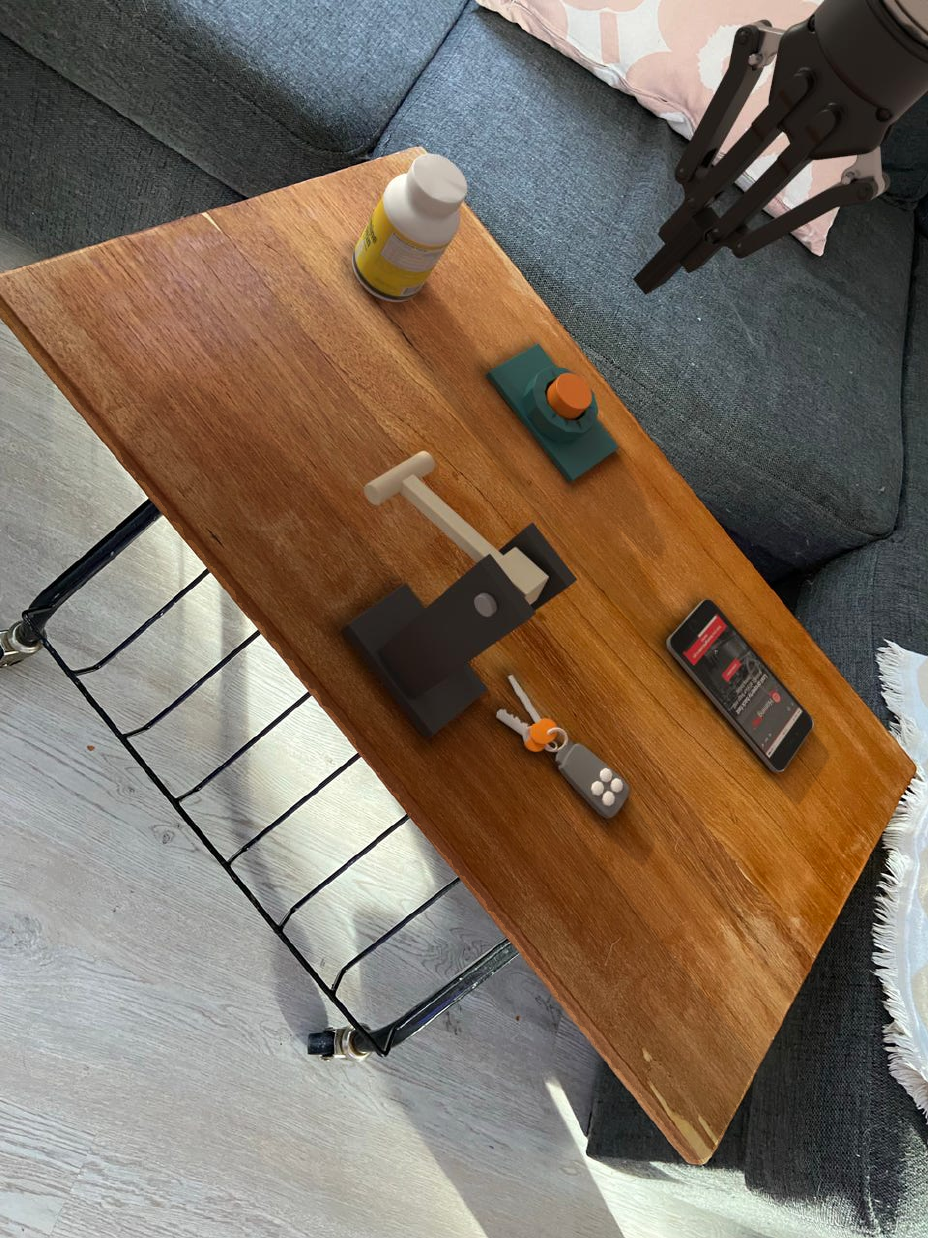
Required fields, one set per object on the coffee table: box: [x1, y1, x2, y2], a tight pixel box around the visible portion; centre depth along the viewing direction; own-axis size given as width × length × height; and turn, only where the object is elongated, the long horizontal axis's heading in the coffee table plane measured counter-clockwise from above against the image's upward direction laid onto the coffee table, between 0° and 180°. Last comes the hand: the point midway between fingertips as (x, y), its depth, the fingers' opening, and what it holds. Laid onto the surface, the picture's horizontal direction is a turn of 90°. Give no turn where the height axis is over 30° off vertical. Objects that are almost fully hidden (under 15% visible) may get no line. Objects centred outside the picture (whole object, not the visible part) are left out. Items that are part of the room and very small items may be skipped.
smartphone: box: [666, 598, 815, 774], centre depth 85 cm, size 7×1×15 cm
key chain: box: [495, 674, 630, 820], centre depth 75 cm, size 13×4×2 cm, turn 53°
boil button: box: [547, 373, 592, 419], centre depth 85 cm, size 4×4×2 cm
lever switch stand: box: [340, 522, 578, 741], centre depth 65 cm, size 10×6×18 cm, turn 43°
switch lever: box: [363, 450, 549, 605], centre depth 60 cm, size 12×5×2 cm, turn 43°
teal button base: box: [485, 343, 620, 484], centre depth 86 cm, size 12×7×2 cm, turn 43°
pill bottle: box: [351, 153, 468, 303], centre depth 80 cm, size 6×6×12 cm
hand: (649, 280), depth 71 cm, fingers closed
